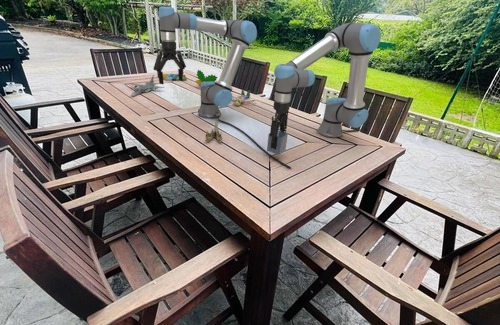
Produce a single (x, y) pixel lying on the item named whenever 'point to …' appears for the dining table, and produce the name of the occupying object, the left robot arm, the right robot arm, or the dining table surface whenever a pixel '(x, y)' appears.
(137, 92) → the airplane
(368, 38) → the right robot arm
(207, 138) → the jawbone
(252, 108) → the dining table surface
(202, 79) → the ornament
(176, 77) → the sign
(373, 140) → the dining table surface
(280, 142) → the block
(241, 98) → the toy
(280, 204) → the dining table surface
